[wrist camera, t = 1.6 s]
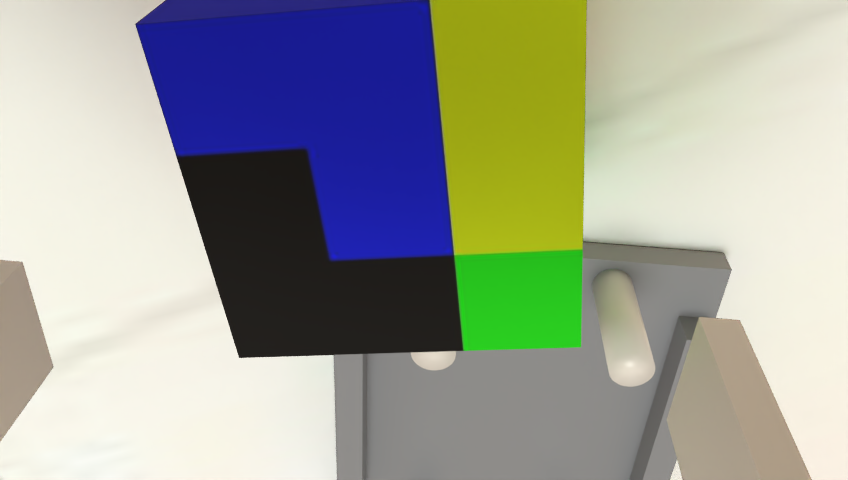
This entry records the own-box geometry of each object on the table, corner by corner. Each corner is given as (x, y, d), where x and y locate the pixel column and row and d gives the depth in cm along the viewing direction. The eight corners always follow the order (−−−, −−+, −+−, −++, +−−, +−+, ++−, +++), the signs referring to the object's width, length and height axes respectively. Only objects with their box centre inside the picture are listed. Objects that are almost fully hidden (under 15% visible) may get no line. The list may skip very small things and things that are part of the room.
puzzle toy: (251, -67, 25) (135, 24, 17) (552, -96, 24) (587, -14, 16) (306, 191, 31) (239, 357, 22) (554, 178, 29) (580, 347, 21)
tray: (335, 223, 31) (305, 317, 26) (723, 252, 31) (771, 354, 26) (341, 488, 41) (320, 597, 35) (638, 515, 40) (661, 628, 35)
